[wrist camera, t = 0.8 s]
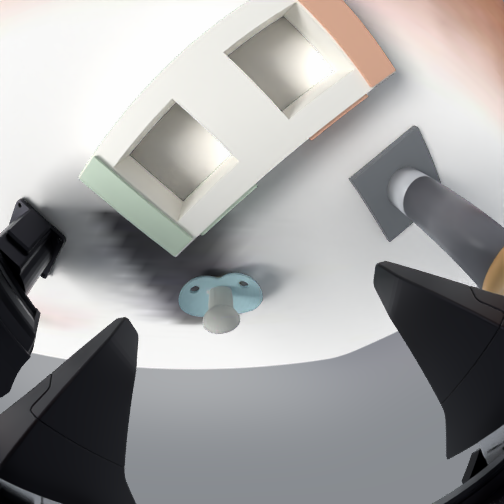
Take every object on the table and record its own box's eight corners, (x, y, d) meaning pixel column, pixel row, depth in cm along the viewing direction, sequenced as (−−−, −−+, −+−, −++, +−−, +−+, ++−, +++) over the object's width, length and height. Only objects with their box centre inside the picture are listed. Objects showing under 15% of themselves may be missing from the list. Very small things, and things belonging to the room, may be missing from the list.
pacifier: (260, 307, 28) (257, 261, 24) (270, 358, 23) (269, 314, 19) (190, 315, 27) (176, 270, 24) (188, 366, 22) (168, 324, 19)
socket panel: (183, 235, 22) (178, 262, 19) (97, 163, 17) (75, 179, 14) (372, 75, 16) (400, 75, 13) (294, -16, 11) (310, -34, 8)
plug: (397, 216, 22) (489, 313, 11) (379, 184, 20) (489, 280, 10) (427, 190, 21) (526, 272, 10) (412, 156, 19) (530, 232, 8)
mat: (386, 238, 24) (389, 242, 24) (348, 178, 21) (352, 181, 20) (441, 191, 22) (444, 193, 21) (413, 125, 18) (417, 126, 18)
